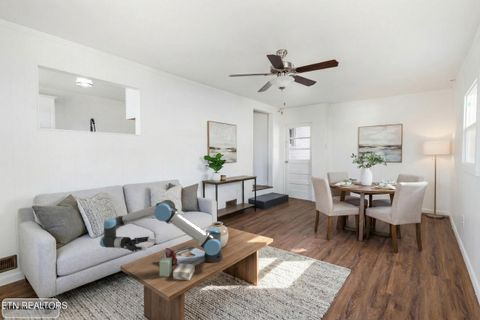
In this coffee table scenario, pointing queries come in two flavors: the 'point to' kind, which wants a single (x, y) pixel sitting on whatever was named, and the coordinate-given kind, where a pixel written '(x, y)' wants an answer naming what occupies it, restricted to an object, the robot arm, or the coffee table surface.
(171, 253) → the red grape bunch
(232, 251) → the coffee table surface
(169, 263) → the sage green block
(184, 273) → the off-white base block
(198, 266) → the coffee table surface
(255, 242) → the coffee table surface
